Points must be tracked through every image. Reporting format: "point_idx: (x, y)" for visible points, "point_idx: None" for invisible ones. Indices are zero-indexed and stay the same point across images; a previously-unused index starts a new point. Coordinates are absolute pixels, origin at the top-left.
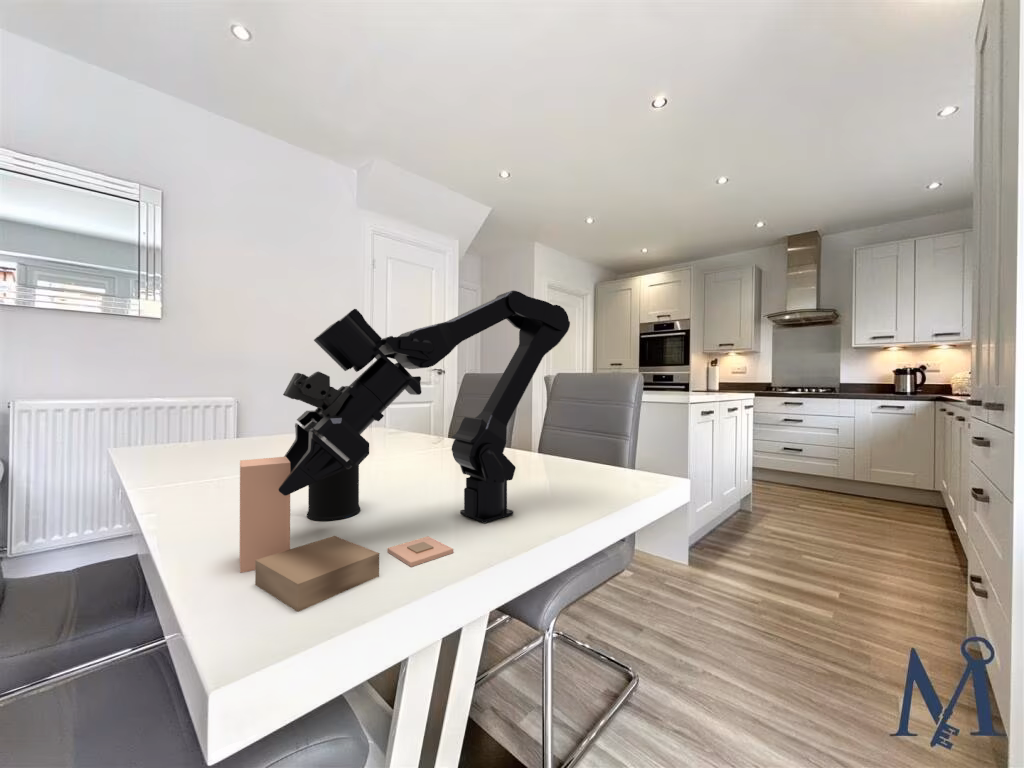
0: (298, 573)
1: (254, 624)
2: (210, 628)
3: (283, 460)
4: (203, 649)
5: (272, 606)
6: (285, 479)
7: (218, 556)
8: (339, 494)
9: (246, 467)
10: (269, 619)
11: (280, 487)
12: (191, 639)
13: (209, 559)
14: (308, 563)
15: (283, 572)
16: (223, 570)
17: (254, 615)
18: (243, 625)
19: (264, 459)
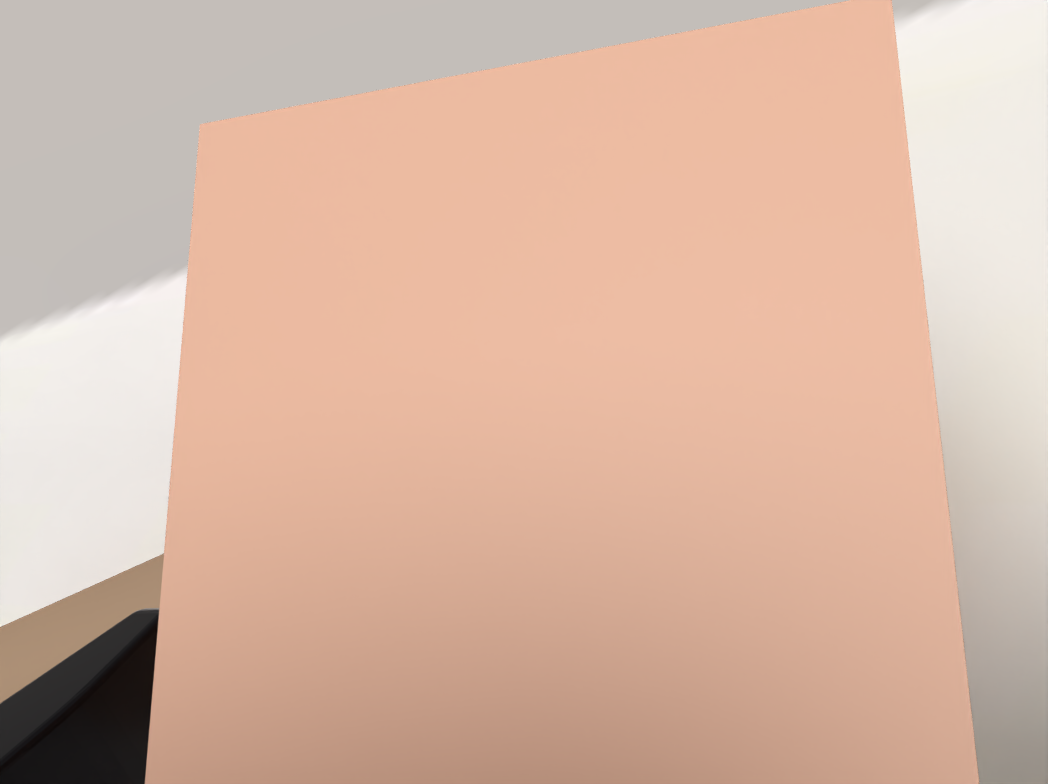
0: (33, 675)
1: (52, 498)
2: (117, 359)
3: (409, 740)
4: (10, 357)
5: (137, 564)
6: (70, 686)
7: (962, 279)
8: None
9: (210, 196)
10: (52, 548)
11: (116, 625)
12: (86, 313)
13: (928, 236)
14: None
15: (85, 609)
16: None
17: (112, 497)
18: (68, 462)
19: (753, 408)
